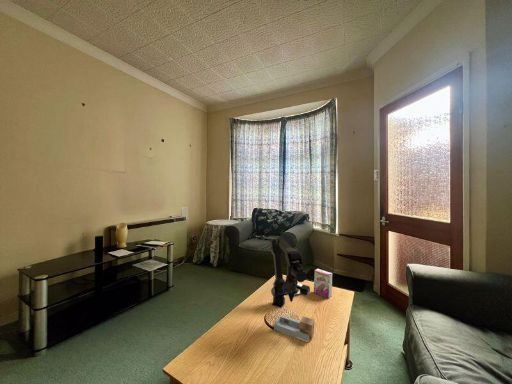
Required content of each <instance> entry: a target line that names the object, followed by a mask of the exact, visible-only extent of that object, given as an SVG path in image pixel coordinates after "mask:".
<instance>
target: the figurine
mask: <svg viewBox="0 0 512 384" xmlns="http://www.w3.org/2000/svg"><path fill="white" fill-rule="evenodd" d="M297 285H299V286H302V285H304V284H303V283H301V282H298V284H297ZM299 294H300V295H301V293H300V290H299V291H298V293H297V294H296V295H299Z"/></svg>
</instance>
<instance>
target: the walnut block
mask: <svg viewBox="0 0 512 384" xmlns="http://www.w3.org/2000/svg"><path fill="white" fill-rule="evenodd" d="M299 322H300V332H303V333H306V334H308V335H309V339H310V340H312V339H313V337H314V334H315V319H314V318H313V319H312V318H310V317H307V316H304V315H303V316H302V317H301V319H300V321H299Z"/></svg>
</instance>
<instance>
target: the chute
mask: <svg viewBox="0 0 512 384" xmlns="http://www.w3.org/2000/svg"><path fill="white" fill-rule="evenodd" d="M273 330H274V331H276V332H279V333H282V334H284V335H288V336H290V337H292V338H296V339H298V340H301V341H303V342H306V343H309V342H310V340H311V339H309V335H308V334H306V333H303V332H300V321H299V320H296V319H292V318H290V317H286V316H284V315H279V317H278V318H277V319H276V321H275V322H274V324H273Z"/></svg>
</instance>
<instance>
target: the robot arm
mask: <svg viewBox="0 0 512 384" xmlns="http://www.w3.org/2000/svg"><path fill="white" fill-rule="evenodd" d="M269 250H270V253H271V254H272V257H273V265H274V281H273V284H272V285H273V287H272V288H271V289H270V292H271V295H272V303H271V306H275V307H277V308H283V306H285V304H286V297H285V296H287V295H288V298H289V302H290V303H291V302H293V300H294V298H295V295H298V294H297V293H298V291H299V290H300V295H303V296H308V295H309V294H310V292H311V287H310V286H309V285H306V284H303V285H302V286H299V285H297V284H298V283H303V282H305V281H306V279H307V278H308V277H307V273H306V272H305V270H304V268H303V267H302V266H304V261H303V257H302V255H301V253H300V251H299V250H298V249H296V248H293V247H292V246H291V245H290V244H289V243H288V242H287V241H286V239H285V238H284V237H276V238H275V239H273V240H271V241H270V242H269ZM282 252H283V253H284V255H285V256H284V257H285V260H286V263H287V264H286V265H287V266H286V267H287V268H286V277H285V278H284V275H283V265H282V256H281V255H282Z"/></svg>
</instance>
